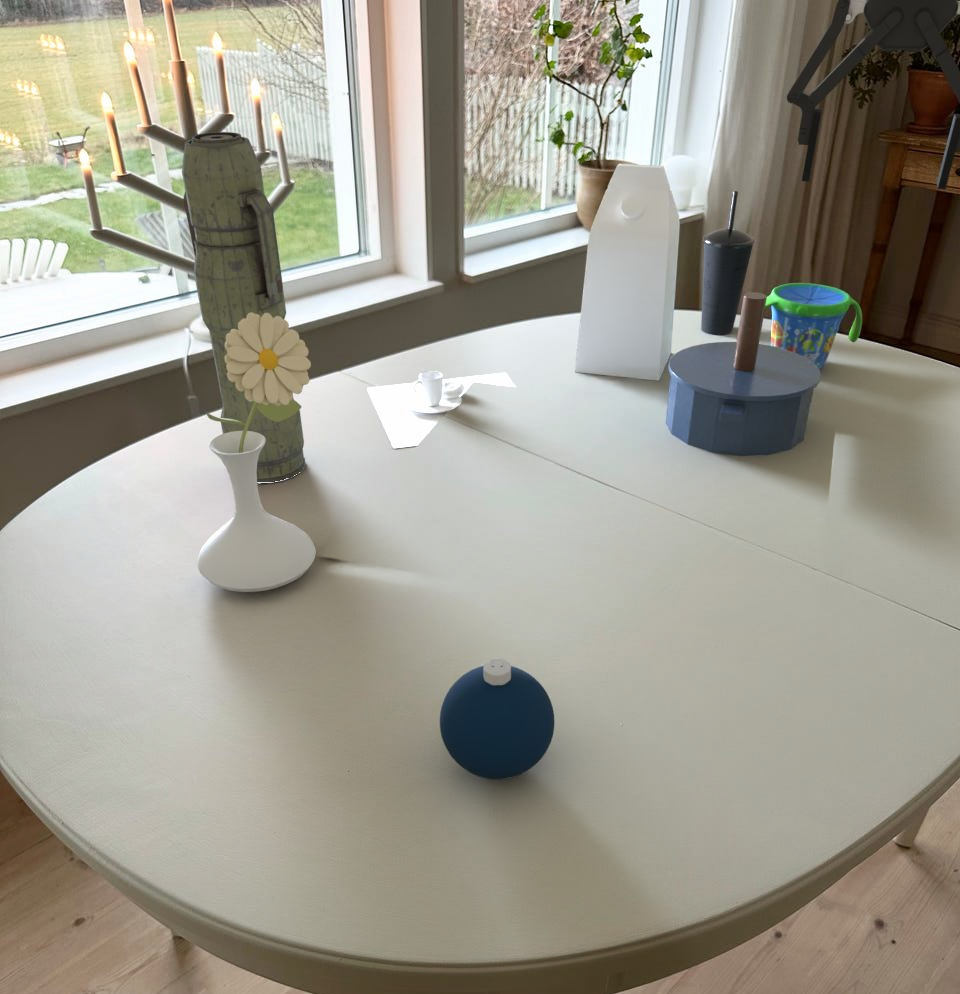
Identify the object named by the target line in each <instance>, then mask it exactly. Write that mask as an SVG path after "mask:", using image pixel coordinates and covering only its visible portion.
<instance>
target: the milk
mask: <svg viewBox="0 0 960 994" xmlns="http://www.w3.org/2000/svg"><path fill="white" fill-rule="evenodd" d="M669 182H670V181H669V179H668V176H667V171H666V169H665V166H664V165H653V164H632V163H618V164H617V165H616V167H615V169H614V171H613V173H612V176H611V178H610V180H609V182H608V184H607V189H606V190H605V192H604V194H603V197H602V199H601V202H600V204H599V207H598V209H597V211H596V214H595V217H594V219H593V221H592V224H591V228H590V230H589V234H588V240H587V250H586V259H585V267H584V268H585V269H584V280H583V287H582V290H583V291H582V296H581V307H580V314H579V315H580V317H579V318H580V319H579V327H578V336H577V345H576V346H577V347H576V355H575V365H574V372H575V373H582V374H590V375H591V374H592V375H600V376H603V375H604V376H610V377H611V376H612V377H621V378H629V379H638V380H648V381H658V382H659V381H660V379H661V376H662V375H663V372H664V371H665V368H666V365H667V363H668V361H669V358H670V356H671V354H672V344H673V331H674V316H675V300H676V286H677V272H678V257H679V242H680V227H681V226H680V225H681V223H680V214H679V211H678V207H677V205H676V201H675V198H674V195H673V192H672V190H671V185H670V183H669Z"/></svg>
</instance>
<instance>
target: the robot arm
mask: <svg viewBox="0 0 960 994" xmlns="http://www.w3.org/2000/svg"><path fill="white" fill-rule="evenodd" d="M834 9H835V10H834V12H833V16H832V20H831V23H830V25H829V26H828V28H827V30H826V31H825V33H824V35H823V36H822V38H821V39H820V41H819V42H818V44H817V46H815V47H816V48H815V49H814V51H813V52H812V54H811V56H810V57H809V59H808V60H807V62H806V64H805V65H804V66H803V68H802V70H801V71H800V73H799V75H798V76H797V77H796V80H795V81H794V83H793V84H792V86H791V88H790V89H789V90H788V93H787V94H786V101H787V102H788V103H789V104H793V105H795V106H797V107H799V109H800V110H801V117H800V118H801V119H800V124H799V129H798V136H797V143H798V145H799V146H807V149H806V154H805V159H804V160H805V161H804V165H803V172H802V176H801V182H810V179H811V175H812V169H813V163H814V158H815V154H816V149H817V148H816V147H817V143H818V142H817V141H818V138H819V131H820V125H821V121H822V120H821V119H822V115H823V114H822V113H823V108H817V106H818V105H819V104H820V103H821V102H822V101H823V100H825V98H826V97H827V96H828V95H829V94H830V93H831V92H832V91H833V90H834V89H835V88H836V87H837V86H838V85H839V84H840V83H841V82H842V81H843V80H844V79H845V77H847V76H848V75H849V74H850V72H852V71H853V69H854V68H855V67H856V66H857V65H858V64H859V63H860V62H862V60H863V59H864V58H866V57H867V56H868V54H870V53H871V52H872V51H873V49H875V48H876V46H877V47H878V48H879V49H880V50H881V51H884V53H885V52H887V53H894V52H897V51H901V50H902V51H905V52H908V53H919V52H921V51H923V50H925V49H926V48H928V47H929V48H930V50H931V53H932V54H933V56H934V58H935V60H936V62H937V64H938V65H939V67H940V69H941V72H942V73H943V75H944V76H945V79H946V80H947V83H948V84H949V86H950V88H951V90H952V92H953V94H954V96H955V98H956V99H957V101H958V103H959V104H960V69H959V67H958V65H957V63H956V61H955V60H954V57H953V55H952V53H951V52H950V49H949V48H948V46H947V44H946V43H945V40H944V38H943V37H942V35H941V33H942V31H943V30H944V29H945V28H947V26H948V25H949V24H950V23H951V21H952V20H953V19H954V18H955V17H956V16H957V15H960V0H838V1H837V3H836V6H835V8H834ZM859 14H863V17H864V19H865V21H866V24H867V26H868V29H869V30H870V31H868V32H867V34H866V35H865V36H864V37H863V38H862V39H861V40H860V41H859V43H858V44H856V46H854V47H853V49H851V51H850V52H849V53H847V55H846V56H845V57H844V58H843V59H842V60H841V61H840V62H839V63H838V64H837V65H836V66H835V67H834V69H832V70H831V71H830V72H829V74H828V75H827V76H826V77H825V78H823V80H822V81H821V82H820V83H819V84H818V85H817V86H816V87H815V88H814V89H813V90H812V91H811V92H810V93H808V92H806V91H805V89H806V88H807V86H808V84H809V83H810V82H811V80H812V78H813V77H814V75H815V74H816V72H817V70H818V68H819V67H820V66H821V64H822V63H823V60H824V59H825V57H826V56H827V54H828V53H829V51H830V50H831V48H832V46H833V44H835V42H836V40H837V39H838V37H839V35H840V33H841V32H842V29H843V28H844V25H850V24H851V23H853V22H854V21H855V20H856V19H855V18H856V17H857V16H858V15H859ZM956 153H960V113H953V117H952V122H951V125H950V129H949V133H948V137H947V141H946V145H945V149H944V153H943V157H942V161H941V164H940V169H939V172H938V176H937V180H936V187H937V190H946V189H947V186H948V181H949V178H950V173H951V170H952V165H953V162H954V158H955V154H956Z"/></svg>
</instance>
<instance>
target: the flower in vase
mask: <svg viewBox="0 0 960 994" xmlns="http://www.w3.org/2000/svg"><path fill="white" fill-rule="evenodd" d="M238 329H239V330H237V329H231V331H230V333H228V334H227V335H226V342H225V345H224V346H225V349H226V350H227V355H225V357H224V359H225V362H226V364H227V365H226V368H227V371H228V373H227V377H228V379H229V380H230V381H231V382H236V384H235V385H236V388H237V389H238V390H239V391H241V392H242V391H245V398H246V399H247V400H248V401H250V402H252V401H254V404H253V407H252V410H251V412H250V415H249V417H248V419H247V422H246V424H244V423H243V422H241V421H237V420H233V419H226V418H221V417H218V416H215V415H212V414H210V413H208V412H207V411H206V412H205V414H206V416H207V418H208V419H210V420H211V421H214V422H218V423H219V422H220V423H221V422H226V423H232V424H237V425H244V426H245V427H244V430H243V431H233V432H228V433H225V434H223V433H222V434H219V435H218V436H215V437H214V438H212V439H211V440H210V441H209V444H208V447H209V449H210V451H211V452H212V453H214V454H215V455H216V456H217V457H218V458H219V459H220V460H221V461H222V464H223V465H224V467H225V469H226V472H227V474H228V476H229V480H230V483H231V486H232V490H233V495H234V503H235V511H234V515H233V516H232V517H231V519H230V520H229V521H228V522H226V523H225V524H224V525H222V526H221V527H220V528H219V529H217V530H216V532H214V533H213V534H212V535H211V536H210V537H209V538H208V540H206V542H205V543H204V544H203V545H202V547H201V548H200V551H199V553H198V558H197V570H198V571H199V573H200V574H201V576H202V577H203V578H204V579H205V580H207V581H208V582H209V583H210V584H212V585H213V586H215V587H218V588H220V589H222V590H226V591H231V592H238V593H255V592H263V591H269V590H273V589H277V588H280V587H284V586H285V585H286V586H287V585H288V584H290V583H293V582H294V581H296V580H298V579H300V578H301V577H302V576H303V575H304V574H306V572H308V570H309V569H310V568H311V566H312V564H313V562H314V561H315V558H316V554H317V551H316V550H317V549H316V547H315V543H313V540H312V539H311V537H310V536H309V535H308V534H307V533H306V532H305V531H304V530H303V529H301V528H299V527H298V526H296V525H295V524H293V523H291V522H289V521H286V520H284V519H281V518H279V517H277V516H275V515H272V514H271V513H268V512H267V511H266V510H265V509H264V507H263V505H262V502H261V498H260V495H259V494H260V493H259V486H258V484H257V461H258V457H259V454H260V452H261V449H262V448H263V446H264V445H265V442H266V439H265V437H264V436H263V435H261V434H259V433H257V432H252V431H247V430H248V427H249V425H250V422H251V420H252V418H253V415H254V412H255V410H256V407H257V408H258V410H259V411H260V412H261V413H262V414H263V415H264V416H266V417H267V418H269V419H270V420H272V421H275V422H279V421H283V420H285V419H287V418H289V417H291V416H292V415H294V414H295V413H296V412H298V411H299V410H300V411H301V409H302V405H301V404H300V403H299V402H298V401H296V400H295V399H294V394H295V395H299V394H301V393H302V392H303V388H304V386H305V385H308V384H309V382H310V376H309V373H308V370H309V369H310V368H311V366H312V363H311V361H310V360H309V358H308V355H309V352H310V351H309V349H308V347H307V346H306V343H305V341H304V340H303V339H300V335H299V333H298V331H296V330H294V329H293V328H292V329H291V328H290V324H289V322H288V321H287V320H286V319H284V320H283V319H282V318H281V317H280V316H276V317H274V318H273V317H272V316H271V315H270V314H269V313H265V314H263V316H262V318H261V317H260V315H258V314H254V313H252V312H251V313H248V315H247V317H246V318H244V319H242V320H241V321H240V322H239V323H238ZM292 392H293V393H292ZM258 403H259V404H258ZM257 404H258V406H257Z"/></svg>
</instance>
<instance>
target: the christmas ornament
mask: <svg viewBox="0 0 960 994" xmlns="http://www.w3.org/2000/svg"><path fill="white" fill-rule="evenodd" d="M555 722H556V721H555V712H554V706H553V704H552V701H551V698H550V697H549V694H548V693H547V691H546V689H545V688H544V687H543V685H542V684H541V683H540V682H539V681H538V680H537V679H536V678H535V677H534V676H533V675H531V674H530V673H529V672H527V671H525V670H523V669H521V668H518V667H516V666H513V665H511V663H510V662H509V660H508V661H507V660H506V659H504V658H491V659H488V660H487V661H486V662H484V664H483V665H482V666H478V667H475V668H473V669H471V670H469V671H467V672H465V673H464V674H463V675H461V676H460V677H459V678H458V679H456V681H454V683H453V684H452V686H450V688H449V690H448V691H447V693H446V695H445V697H444V699H443V701H442V704H441V709H440V713H439V729H440V736H441V739H442V742H443V745H444V747H445V749H446V750H447V752H448V754H449V755H450V757H451V758H452V759H453V760H454V761H455V762H456V763H457V765H458V766H460V767H461V768H462V769H464V770H465V771H467V772H469V774H470V773H471V774H472V775H475V776H477V777H480V778H484V779H488V780H489V779H490V780H505V779H512V778H515V777H518V776H520V775H522V774H524V773H526V772H528V771H529V770H531V769H533V767H534V766H536V765H537V764H538V763H539V762H540V761H541V760H542V758H543V757H544V756H545V754H546V753H547V751H548V749H549V747H550V745H551V743H552V740H553V737H554V732H555Z"/></svg>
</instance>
